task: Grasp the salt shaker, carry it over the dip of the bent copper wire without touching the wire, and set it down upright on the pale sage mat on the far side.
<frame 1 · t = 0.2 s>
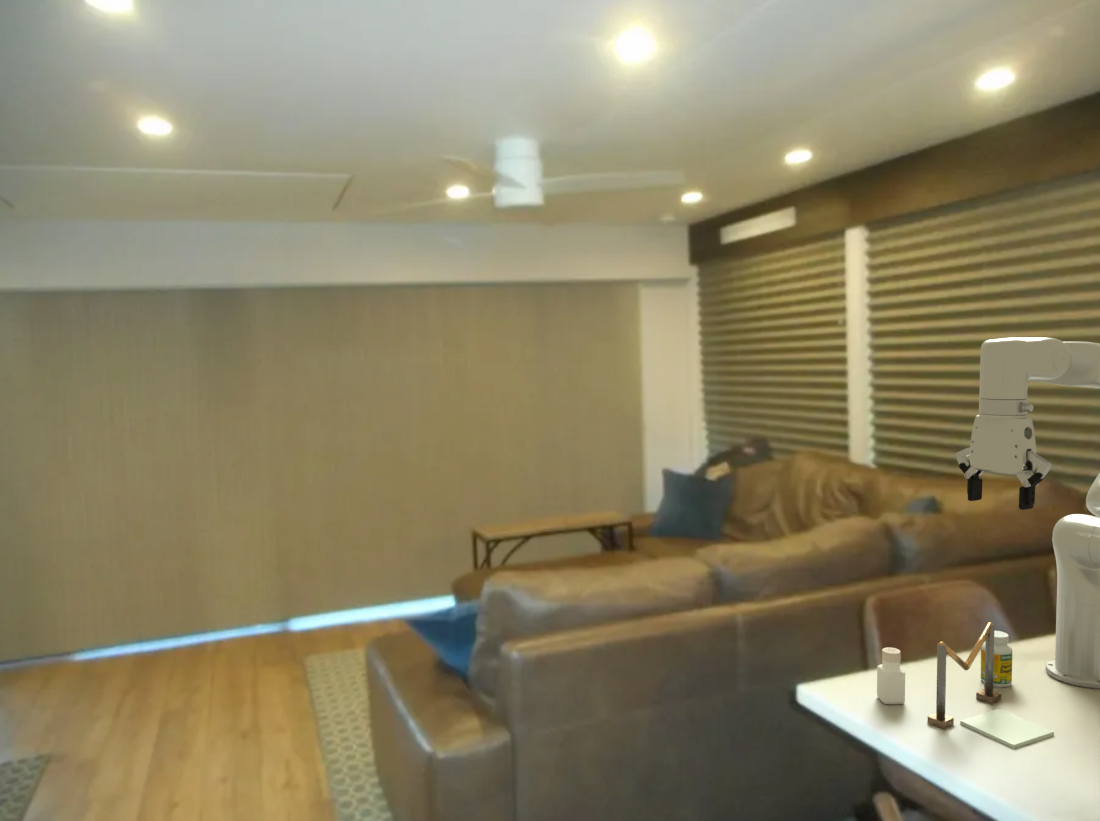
hand: (999, 504, 152), 36 cm above the table, tool pointing down, fingers open, 9 cm apart
supplement bottle: (995, 683, 164), on the table
wire hurdle: (965, 711, 151), on the table
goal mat: (1006, 729, 144), on the table
salt shaker: (890, 701, 156), on the table
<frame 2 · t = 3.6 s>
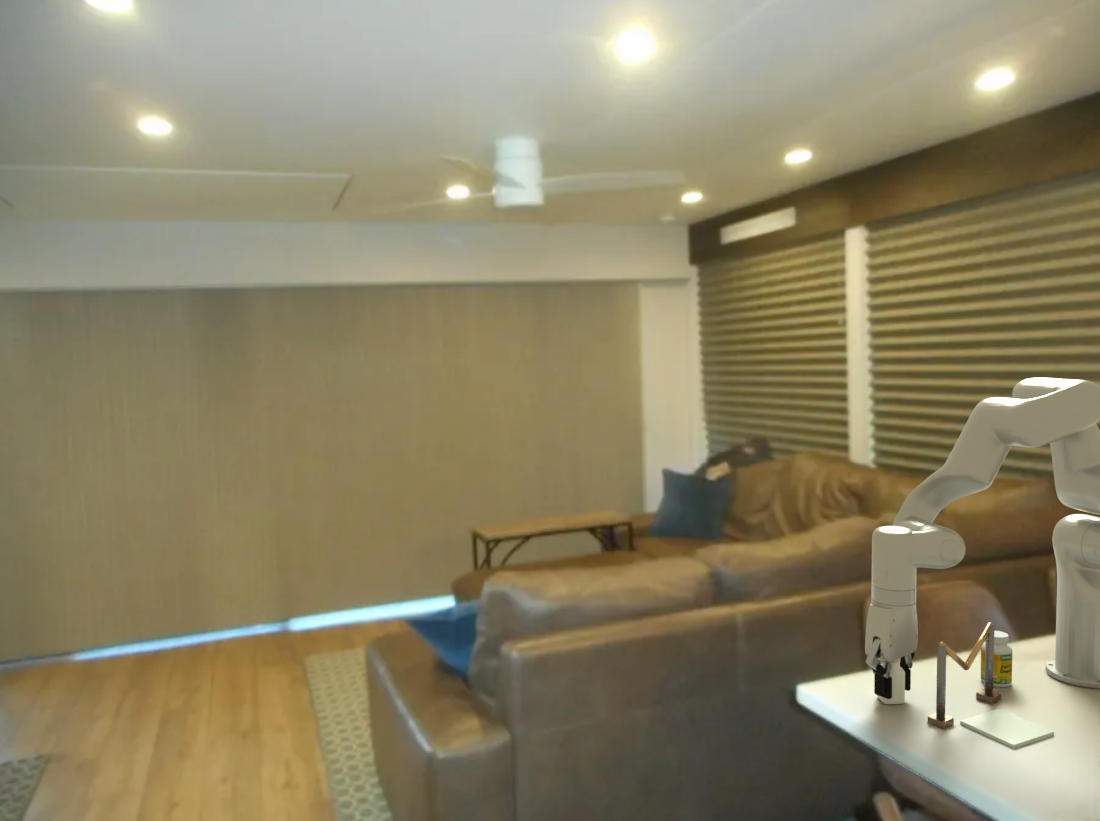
hand: (892, 691, 156), 2 cm above the table, tool pointing down, fingers closed on salt shaker, 5 cm apart
salt shaker: (890, 701, 156), on the table, touching gripper
everything else where it was.
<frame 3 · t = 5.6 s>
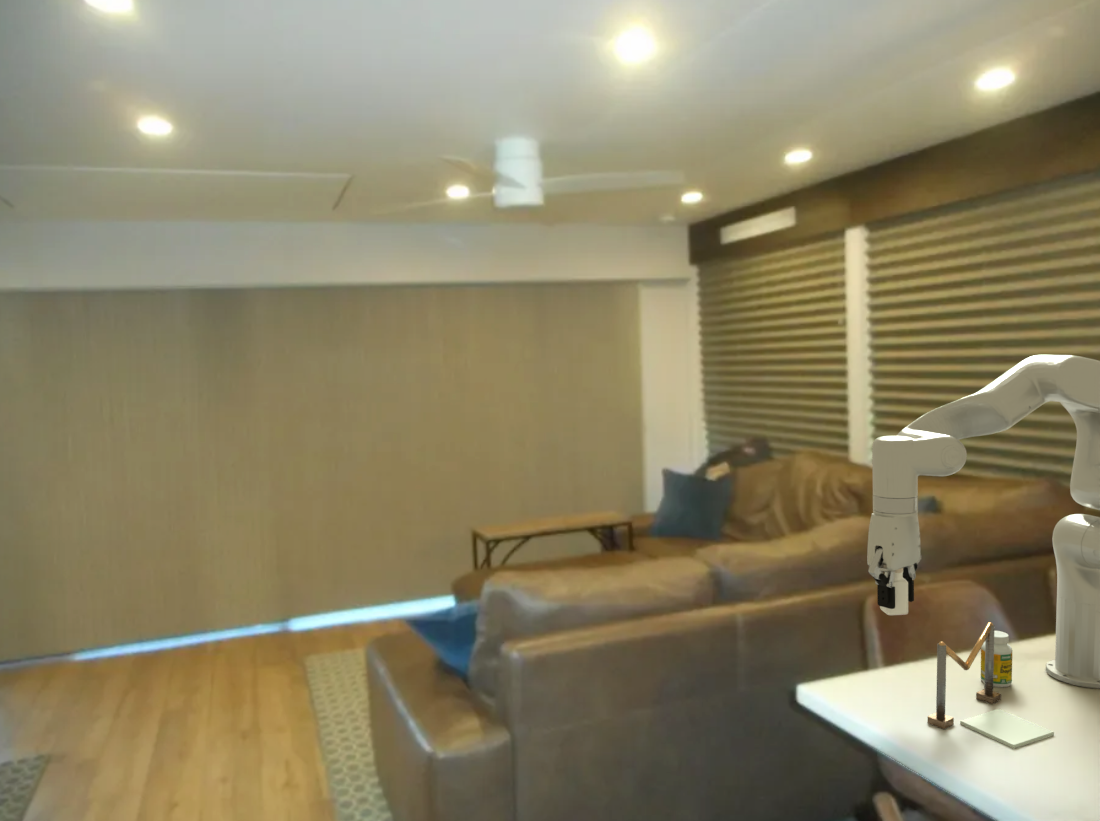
hand: (895, 602, 155), 18 cm above the table, tool pointing down, fingers closed on salt shaker, 5 cm apart
salt shaker: (893, 613, 155), point 16 cm above the table, touching gripper
everything else where it was.
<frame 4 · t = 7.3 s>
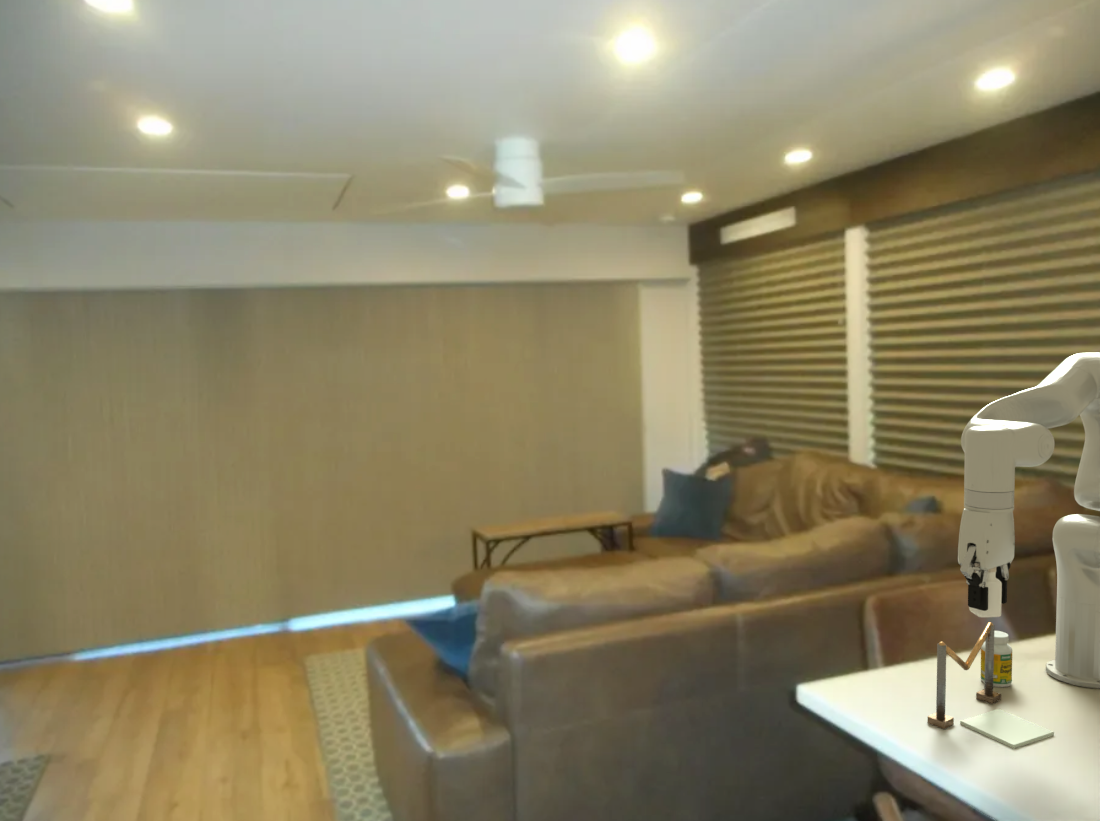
hand: (987, 603, 145), 21 cm above the table, tool pointing down, fingers closed on salt shaker, 5 cm apart
salt shaker: (984, 615, 145), point 19 cm above the table, touching gripper
everything else where it was.
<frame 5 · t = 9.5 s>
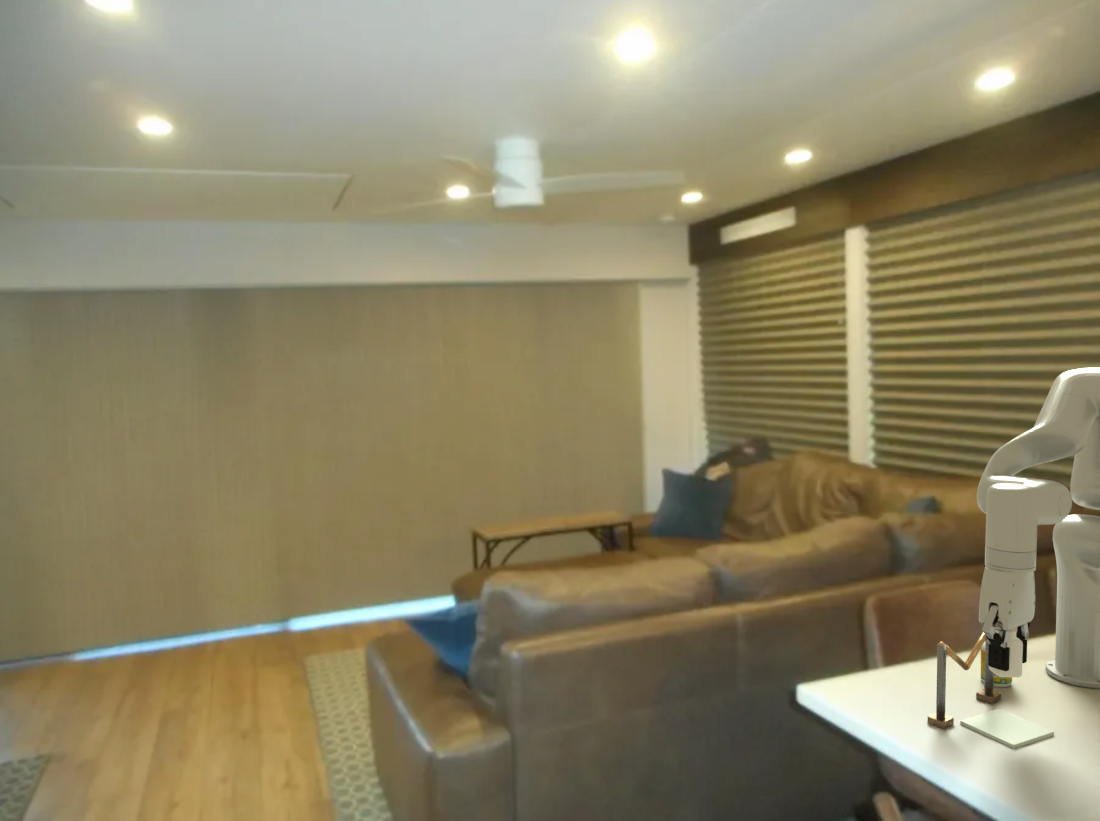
hand: (1007, 663, 143), 12 cm above the table, tool pointing down, fingers closed on salt shaker, 5 cm apart
salt shaker: (1004, 675, 143), point 9 cm above the table, touching gripper
everything else where it was.
when the fingers open (4 cm above the table, at t = 11.3 s): salt shaker drops 1 cm, resting on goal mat.
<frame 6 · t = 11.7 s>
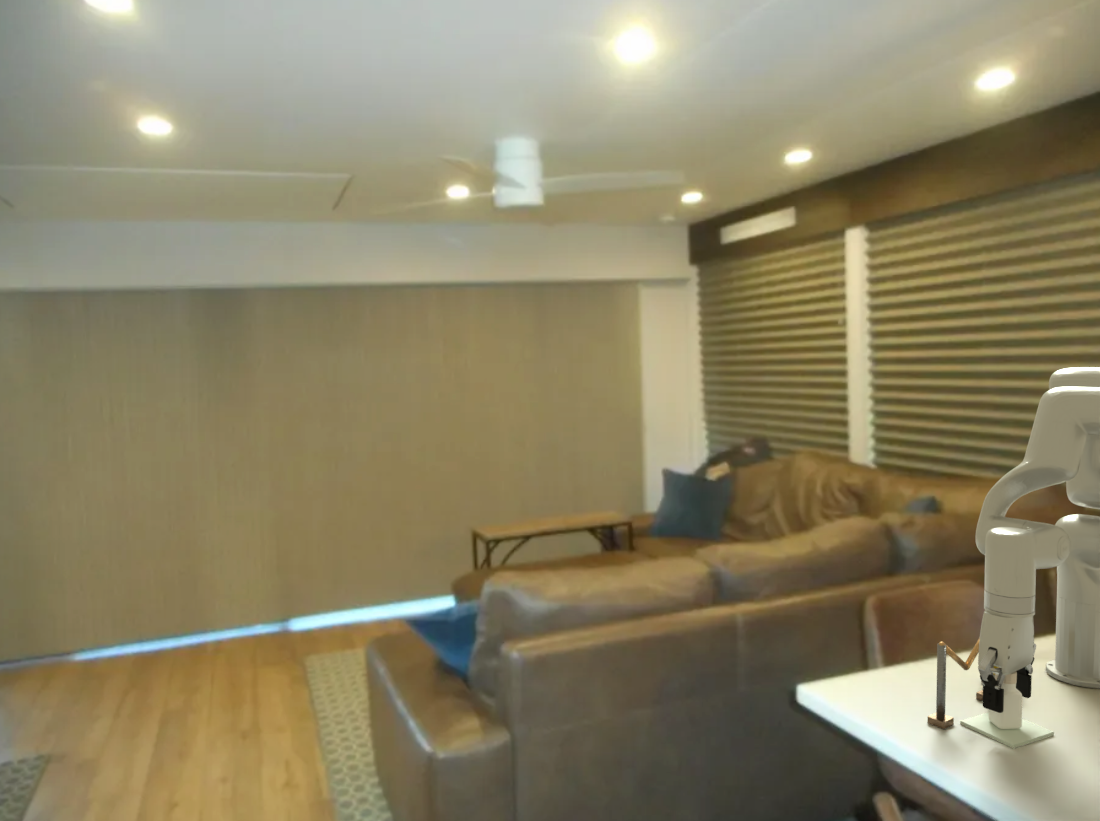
hand: (1007, 702, 144), 5 cm above the table, tool pointing down, fingers open, 8 cm apart
salt shaker: (1004, 726, 144), resting on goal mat
everything else where it was.
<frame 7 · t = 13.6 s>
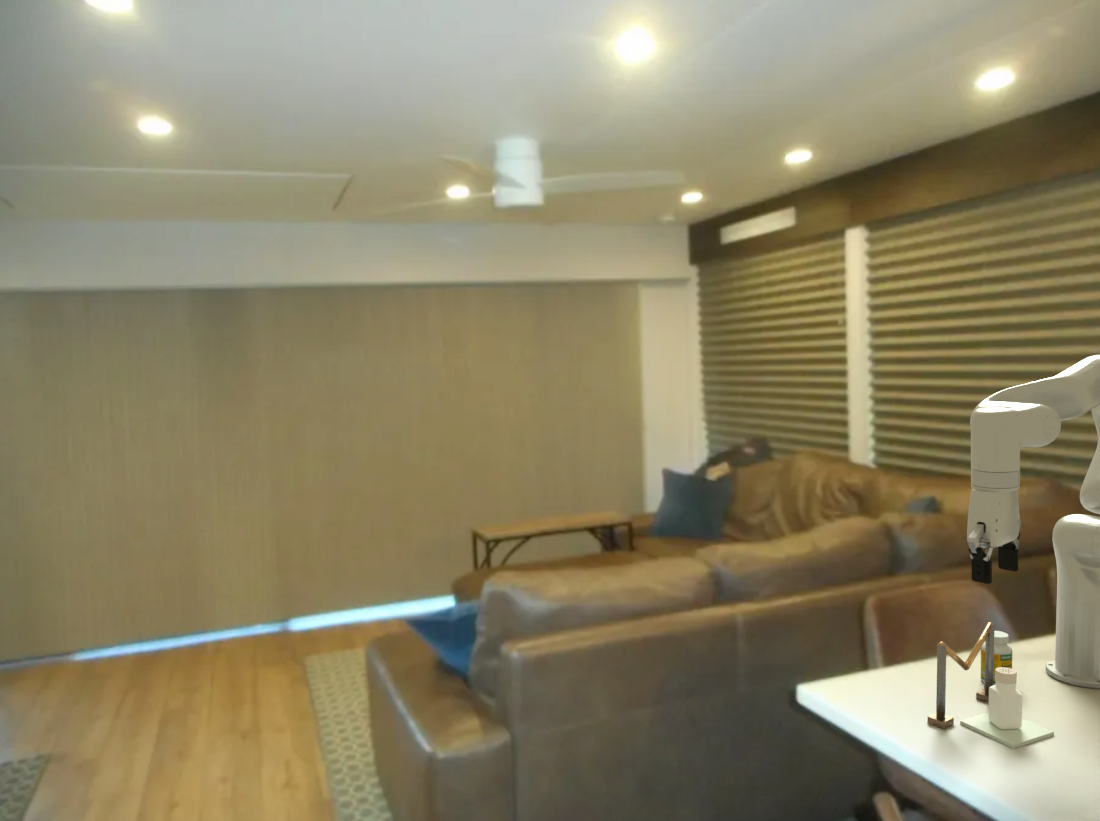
hand: (995, 575, 149), 25 cm above the table, tool pointing down, fingers open, 9 cm apart
nothing on the table moved.
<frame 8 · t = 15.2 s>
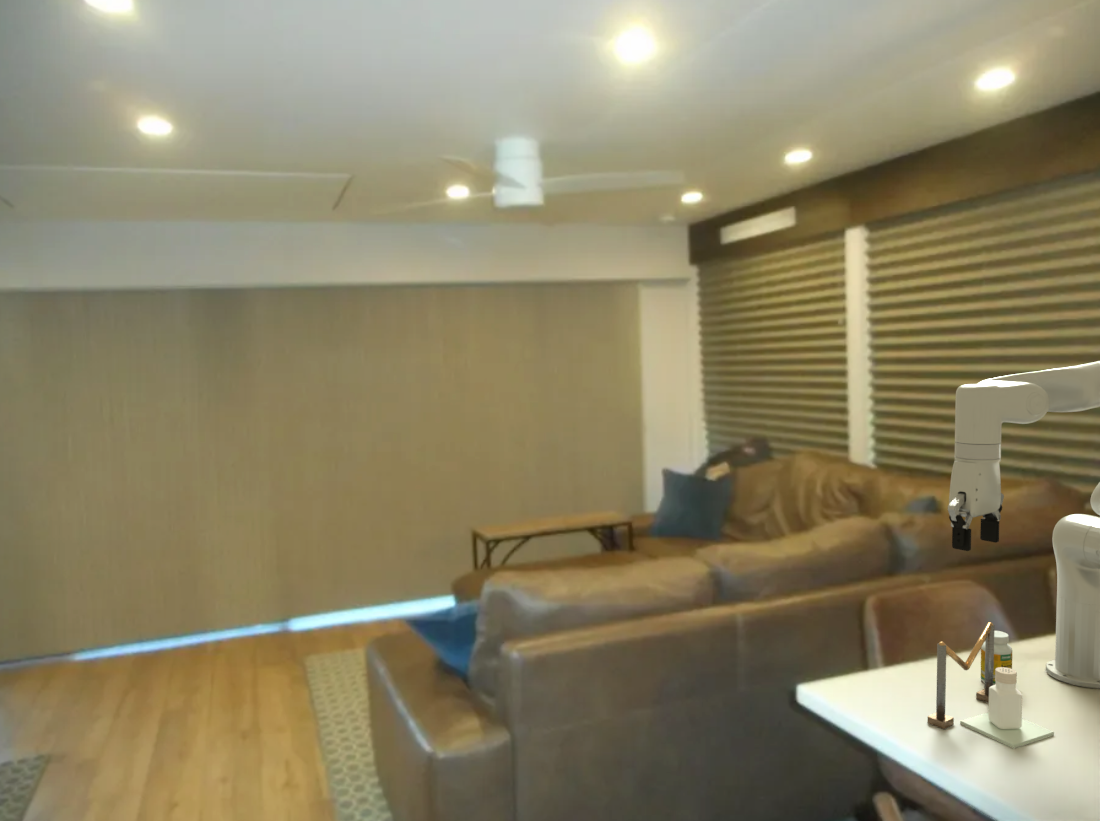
hand: (975, 545, 156), 28 cm above the table, tool pointing down, fingers open, 9 cm apart
nothing on the table moved.
at the end: salt shaker inside the target area on the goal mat (0.4 cm from its centre), point 0.4 cm above the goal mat's base; salt shaker tilted 0°; salt shaker touching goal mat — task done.
